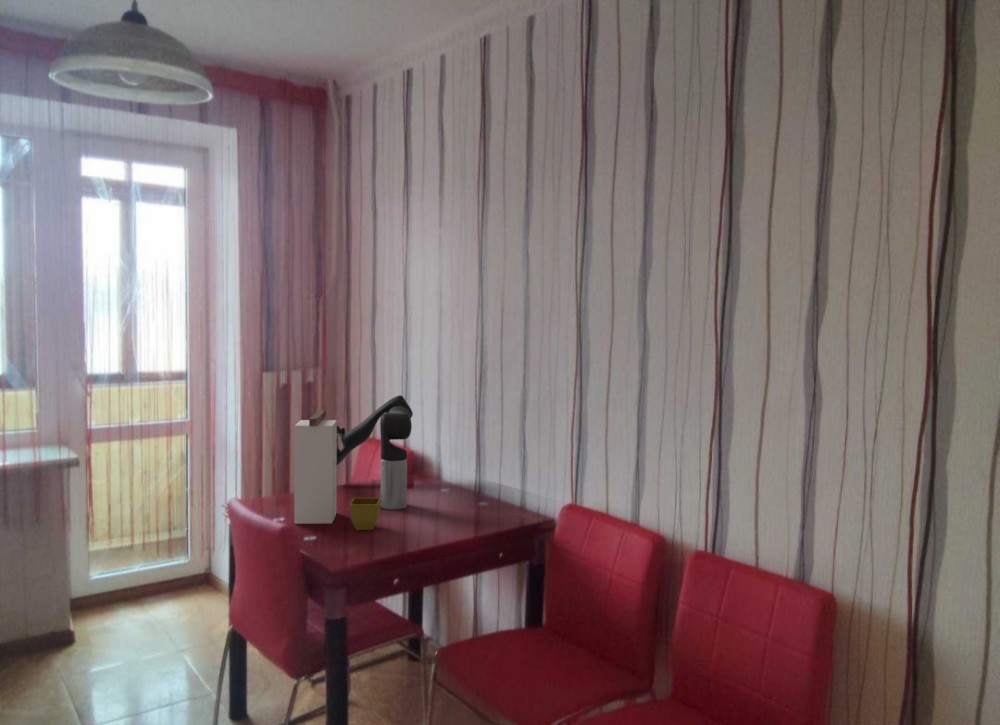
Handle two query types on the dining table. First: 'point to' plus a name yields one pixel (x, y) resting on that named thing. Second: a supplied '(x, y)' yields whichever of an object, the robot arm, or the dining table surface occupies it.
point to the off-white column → (315, 472)
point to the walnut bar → (317, 418)
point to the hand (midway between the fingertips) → (323, 427)
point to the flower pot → (364, 512)
